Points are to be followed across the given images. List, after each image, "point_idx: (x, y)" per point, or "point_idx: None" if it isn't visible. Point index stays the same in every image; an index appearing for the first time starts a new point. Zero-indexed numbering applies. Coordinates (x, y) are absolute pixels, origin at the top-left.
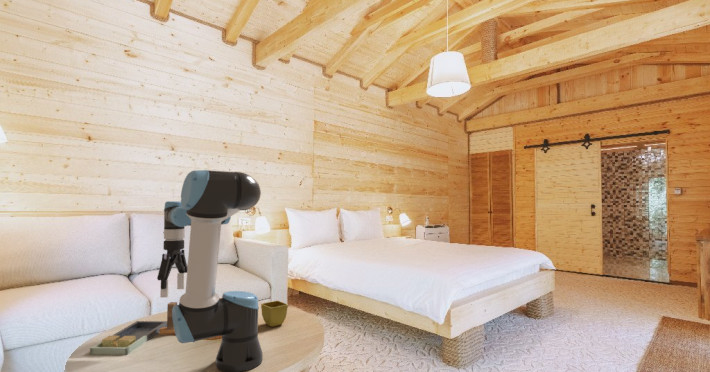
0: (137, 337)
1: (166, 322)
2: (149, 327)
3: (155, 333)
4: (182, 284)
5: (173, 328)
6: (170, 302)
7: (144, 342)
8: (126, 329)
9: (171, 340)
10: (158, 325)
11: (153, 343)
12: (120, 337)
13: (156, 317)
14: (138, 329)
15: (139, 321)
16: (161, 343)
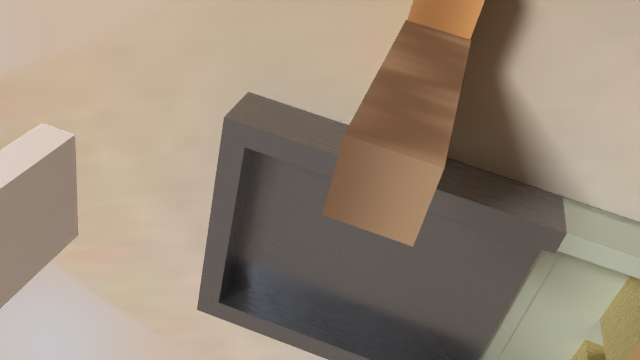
0: (455, 268)
1: (249, 124)
2: (254, 217)
3: None
4: (7, 207)
5: (470, 43)
6: (339, 217)
7: (598, 220)
8: (353, 350)
9: (565, 20)
10: (248, 169)
11: (580, 152)
12: (422, 351)
13: None
14: (284, 274)
15: (207, 296)
16: (610, 93)
